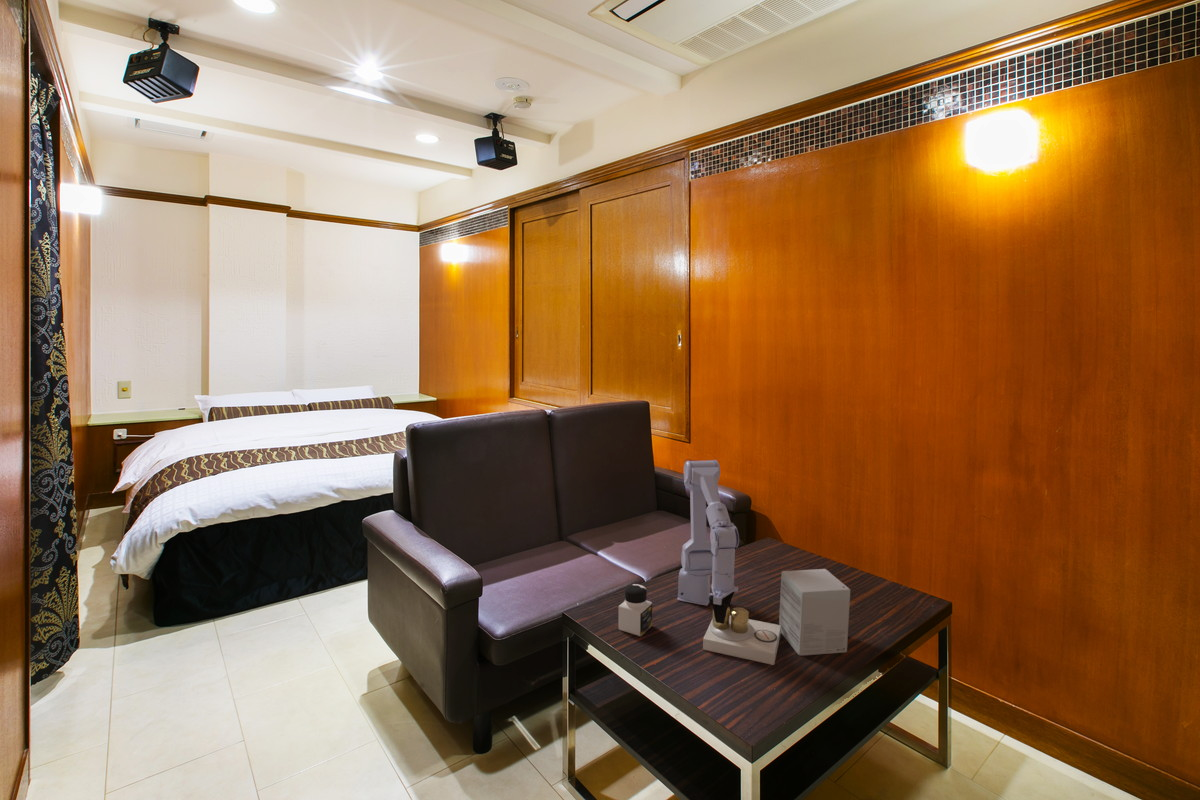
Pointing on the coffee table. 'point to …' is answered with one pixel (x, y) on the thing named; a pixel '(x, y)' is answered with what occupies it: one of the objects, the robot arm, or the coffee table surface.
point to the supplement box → (814, 611)
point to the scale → (745, 641)
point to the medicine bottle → (635, 611)
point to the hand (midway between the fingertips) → (721, 618)
